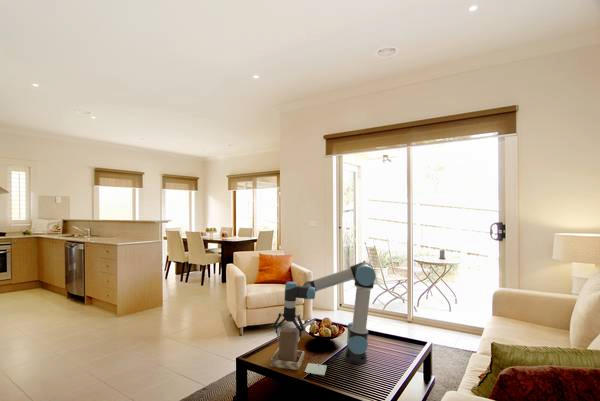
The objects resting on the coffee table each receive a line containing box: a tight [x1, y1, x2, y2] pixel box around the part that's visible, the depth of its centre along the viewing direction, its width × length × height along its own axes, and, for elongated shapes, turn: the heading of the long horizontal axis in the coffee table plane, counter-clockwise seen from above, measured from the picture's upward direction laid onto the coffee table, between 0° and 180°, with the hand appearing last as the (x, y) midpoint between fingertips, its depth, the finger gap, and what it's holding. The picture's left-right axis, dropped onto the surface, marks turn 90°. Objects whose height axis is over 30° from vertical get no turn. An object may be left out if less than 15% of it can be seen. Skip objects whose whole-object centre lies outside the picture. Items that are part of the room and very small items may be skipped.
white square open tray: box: [269, 347, 305, 371], centre depth 210 cm, size 18×18×4 cm
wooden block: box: [278, 326, 299, 362], centre depth 211 cm, size 10×10×20 cm
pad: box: [304, 362, 328, 376], centre depth 202 cm, size 12×12×1 cm
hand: (288, 340), depth 211 cm, fingers open, 13 cm apart
